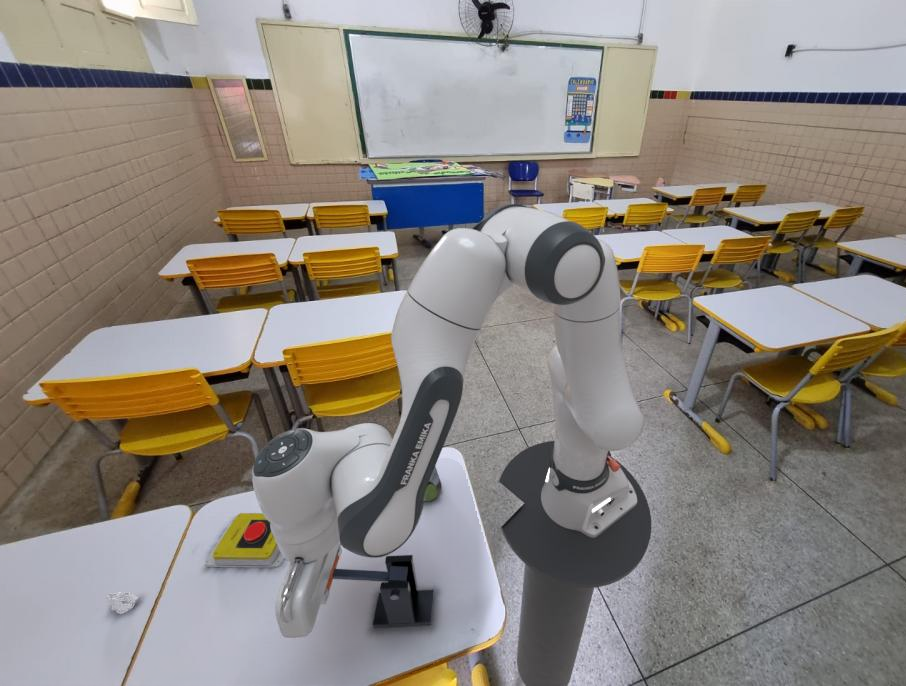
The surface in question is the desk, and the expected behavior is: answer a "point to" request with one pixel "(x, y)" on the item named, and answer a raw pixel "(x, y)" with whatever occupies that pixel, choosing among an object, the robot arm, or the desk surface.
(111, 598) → the white crumpled lump
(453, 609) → the desk surface
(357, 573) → the switch lever
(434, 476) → the beverage can
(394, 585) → the switch bracket
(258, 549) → the emergency button
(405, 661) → the desk surface
